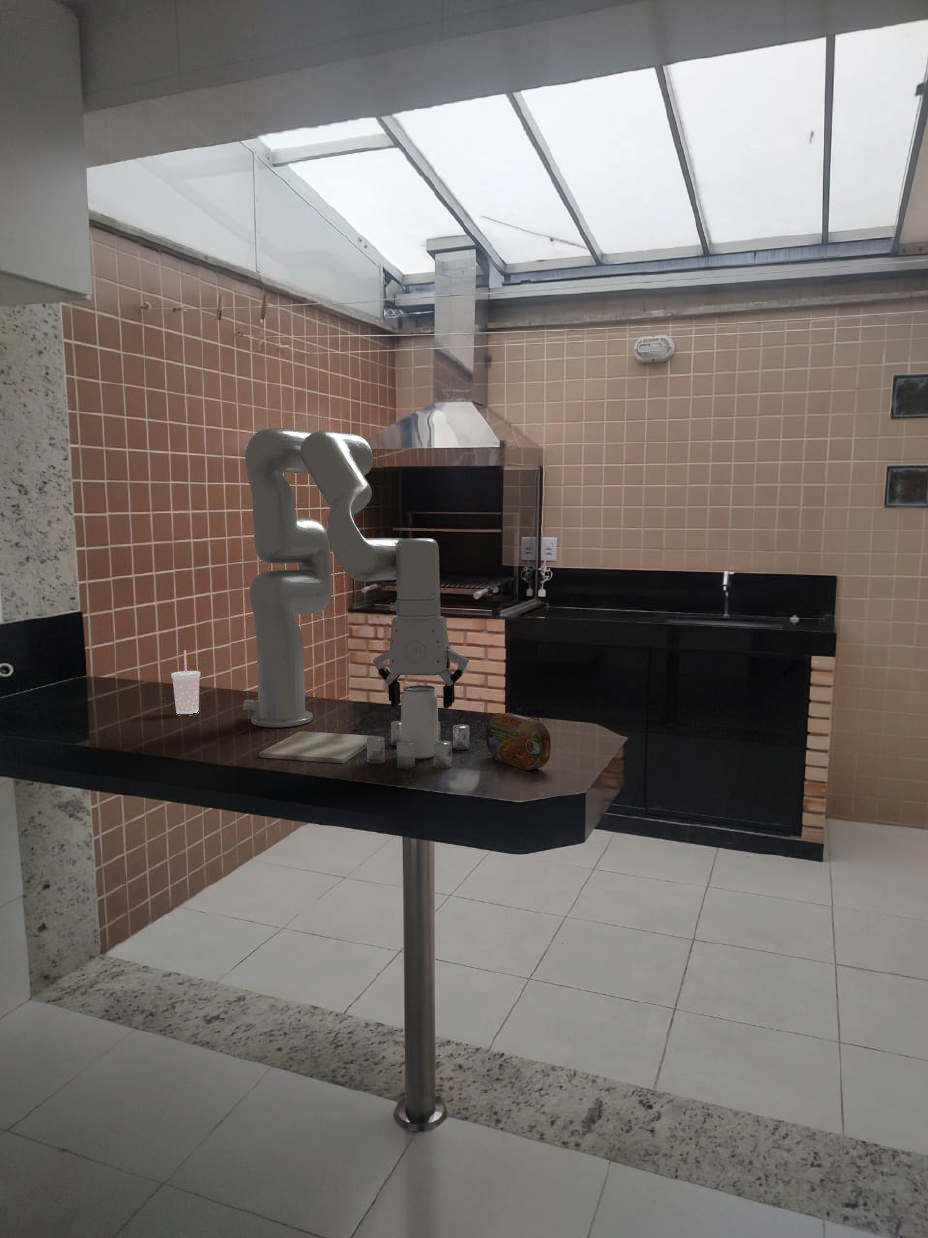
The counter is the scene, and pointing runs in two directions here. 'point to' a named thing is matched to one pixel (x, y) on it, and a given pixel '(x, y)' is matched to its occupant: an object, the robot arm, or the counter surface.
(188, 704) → the beverage cup
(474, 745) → the counter surface
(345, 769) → the counter surface
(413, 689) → the can
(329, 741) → the board
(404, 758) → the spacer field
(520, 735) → the tin
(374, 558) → the robot arm
